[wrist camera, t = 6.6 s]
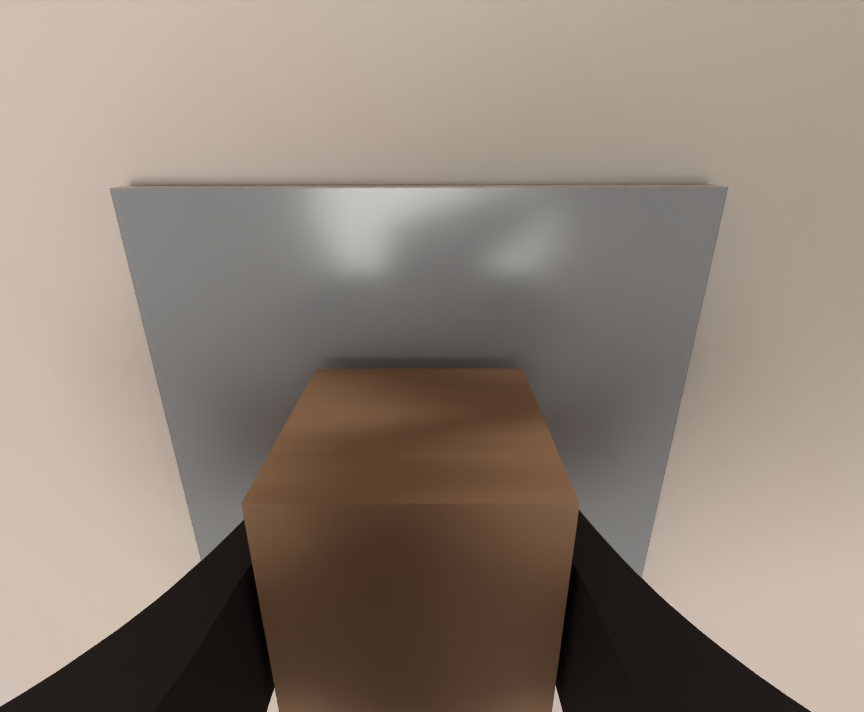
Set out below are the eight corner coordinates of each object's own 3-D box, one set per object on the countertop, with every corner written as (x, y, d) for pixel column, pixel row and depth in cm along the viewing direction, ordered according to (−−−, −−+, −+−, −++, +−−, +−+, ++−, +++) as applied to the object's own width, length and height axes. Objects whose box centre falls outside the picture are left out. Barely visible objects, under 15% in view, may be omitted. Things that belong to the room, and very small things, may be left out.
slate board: (710, 184, 12) (728, 187, 11) (622, 604, 17) (631, 624, 17) (129, 185, 12) (110, 188, 11) (225, 603, 17) (216, 624, 17)
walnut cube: (522, 368, 12) (579, 502, 7) (510, 532, 14) (549, 722, 9) (315, 368, 12) (241, 504, 7) (332, 532, 14) (281, 722, 9)
